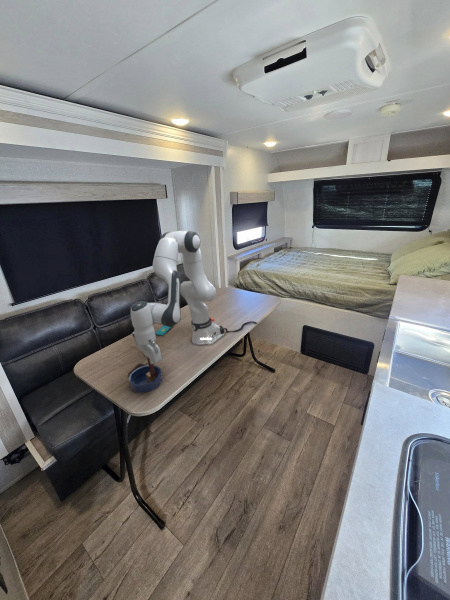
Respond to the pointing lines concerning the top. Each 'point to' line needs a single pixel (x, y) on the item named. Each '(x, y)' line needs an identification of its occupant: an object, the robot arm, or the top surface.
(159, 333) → the smartphone
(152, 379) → the block
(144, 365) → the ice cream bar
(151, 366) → the chopstick
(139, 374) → the bowl
